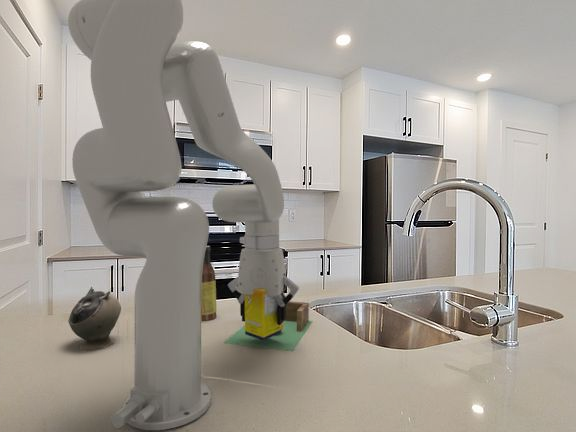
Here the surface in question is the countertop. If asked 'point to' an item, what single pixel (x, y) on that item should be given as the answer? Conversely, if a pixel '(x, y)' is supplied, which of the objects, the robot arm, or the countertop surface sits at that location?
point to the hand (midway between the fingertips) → (263, 320)
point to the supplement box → (261, 315)
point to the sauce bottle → (208, 289)
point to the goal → (297, 313)
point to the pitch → (272, 338)
